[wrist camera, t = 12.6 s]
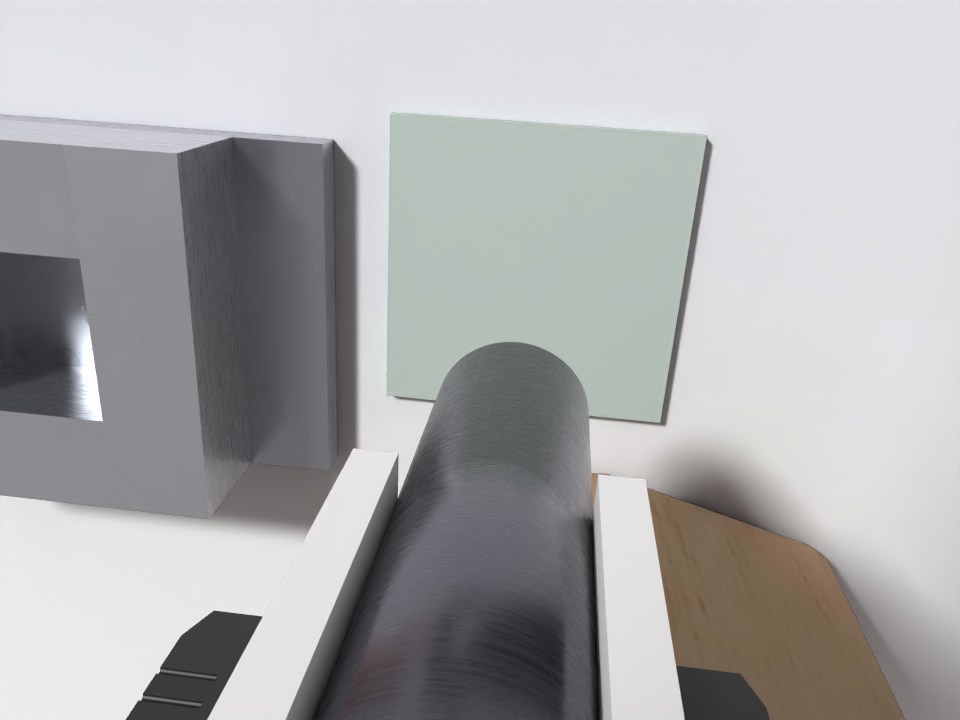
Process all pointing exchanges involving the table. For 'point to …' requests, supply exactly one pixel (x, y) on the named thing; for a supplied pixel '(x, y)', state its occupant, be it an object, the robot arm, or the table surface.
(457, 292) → the mat
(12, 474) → the grey hollow block
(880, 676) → the wooden block
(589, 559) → the red capped rod
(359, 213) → the table surface
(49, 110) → the table surface
